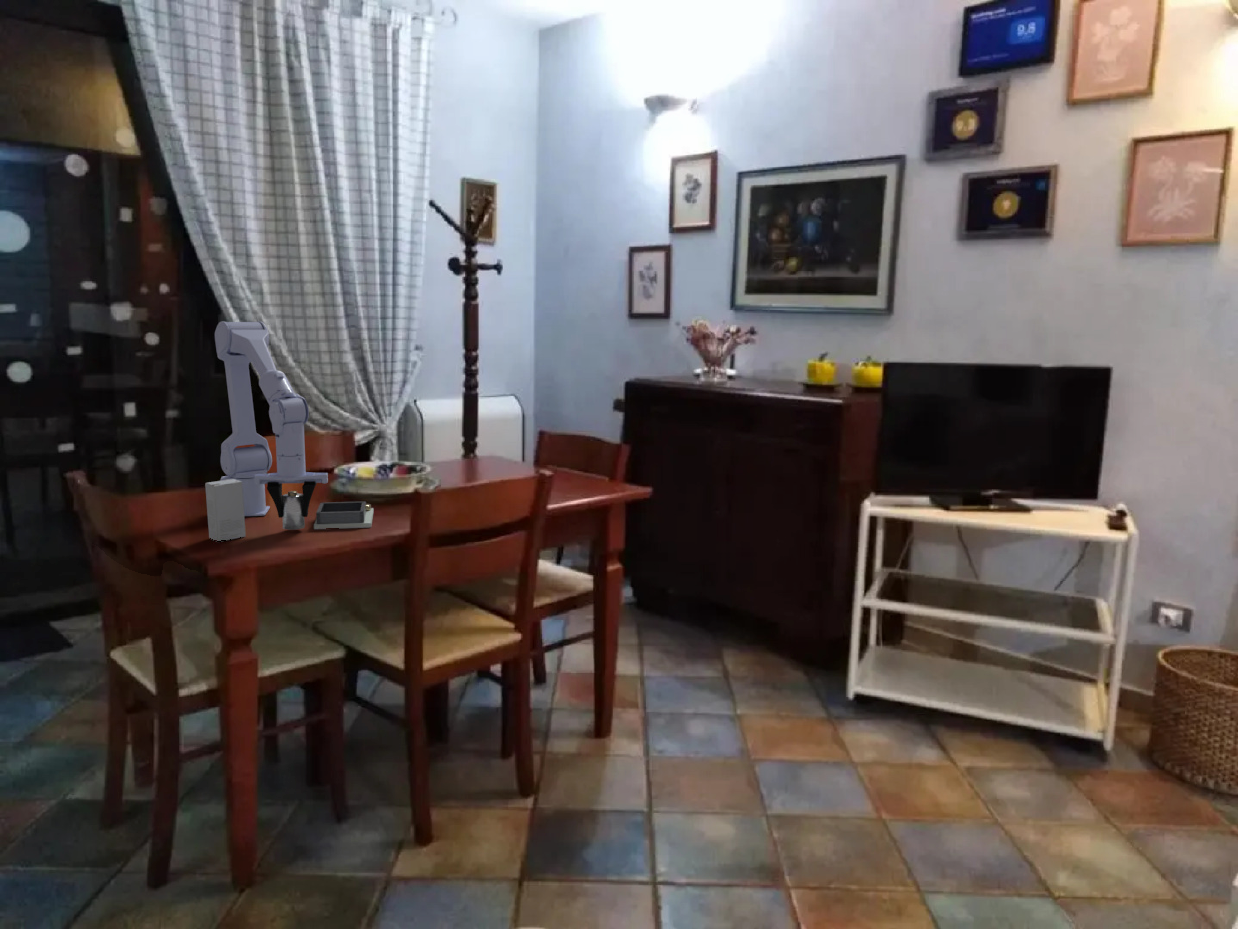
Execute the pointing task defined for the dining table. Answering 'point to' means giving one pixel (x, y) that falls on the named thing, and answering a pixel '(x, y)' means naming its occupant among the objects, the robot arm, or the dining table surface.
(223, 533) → the skincare box
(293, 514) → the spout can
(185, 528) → the dining table surface
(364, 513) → the box
